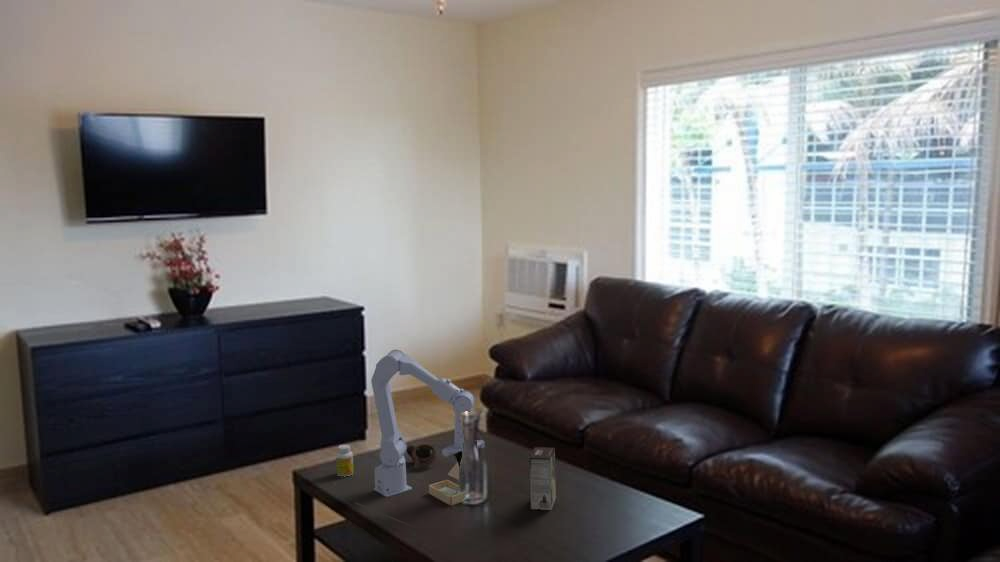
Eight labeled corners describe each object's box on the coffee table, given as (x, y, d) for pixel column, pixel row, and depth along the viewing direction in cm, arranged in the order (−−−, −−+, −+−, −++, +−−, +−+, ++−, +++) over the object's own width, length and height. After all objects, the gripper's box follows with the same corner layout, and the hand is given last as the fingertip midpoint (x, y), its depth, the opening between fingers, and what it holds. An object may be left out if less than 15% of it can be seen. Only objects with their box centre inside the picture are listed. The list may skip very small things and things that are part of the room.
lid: (484, 467, 242) (485, 468, 242) (461, 457, 251) (461, 457, 251) (470, 485, 239) (471, 486, 239) (447, 474, 249) (448, 474, 249)
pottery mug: (442, 461, 274) (442, 446, 269) (429, 481, 267) (428, 466, 262) (412, 449, 278) (411, 433, 273) (398, 468, 271) (397, 453, 266)
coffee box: (535, 496, 241) (534, 446, 239) (556, 498, 240) (555, 447, 237) (530, 509, 232) (529, 457, 230) (552, 510, 231) (551, 458, 229)
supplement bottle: (335, 477, 260) (334, 449, 259) (339, 471, 265) (337, 443, 264) (351, 477, 260) (350, 449, 259) (355, 471, 265) (353, 443, 264)
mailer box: (450, 506, 235) (450, 497, 235) (428, 494, 245) (428, 485, 244) (469, 500, 239) (469, 491, 239) (447, 488, 249) (447, 479, 248)
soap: (450, 500, 239) (449, 494, 239) (438, 496, 242) (438, 489, 242) (457, 497, 241) (456, 490, 241) (445, 493, 244) (445, 486, 244)
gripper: (451, 439, 235) (451, 483, 237) (490, 430, 244) (490, 472, 246) (438, 433, 241) (438, 475, 243) (477, 424, 250) (477, 465, 252)
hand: (463, 473), depth 245 cm, fingers closed, pressing on lid
